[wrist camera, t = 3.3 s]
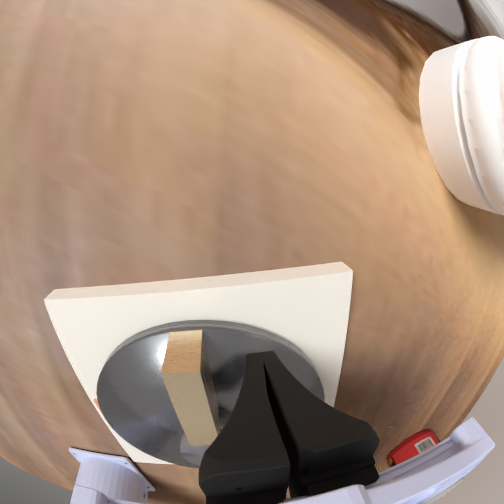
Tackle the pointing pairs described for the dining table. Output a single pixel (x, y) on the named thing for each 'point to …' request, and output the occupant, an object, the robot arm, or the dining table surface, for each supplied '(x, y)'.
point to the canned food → (413, 448)
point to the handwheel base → (208, 317)
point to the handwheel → (186, 384)
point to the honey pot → (467, 120)
